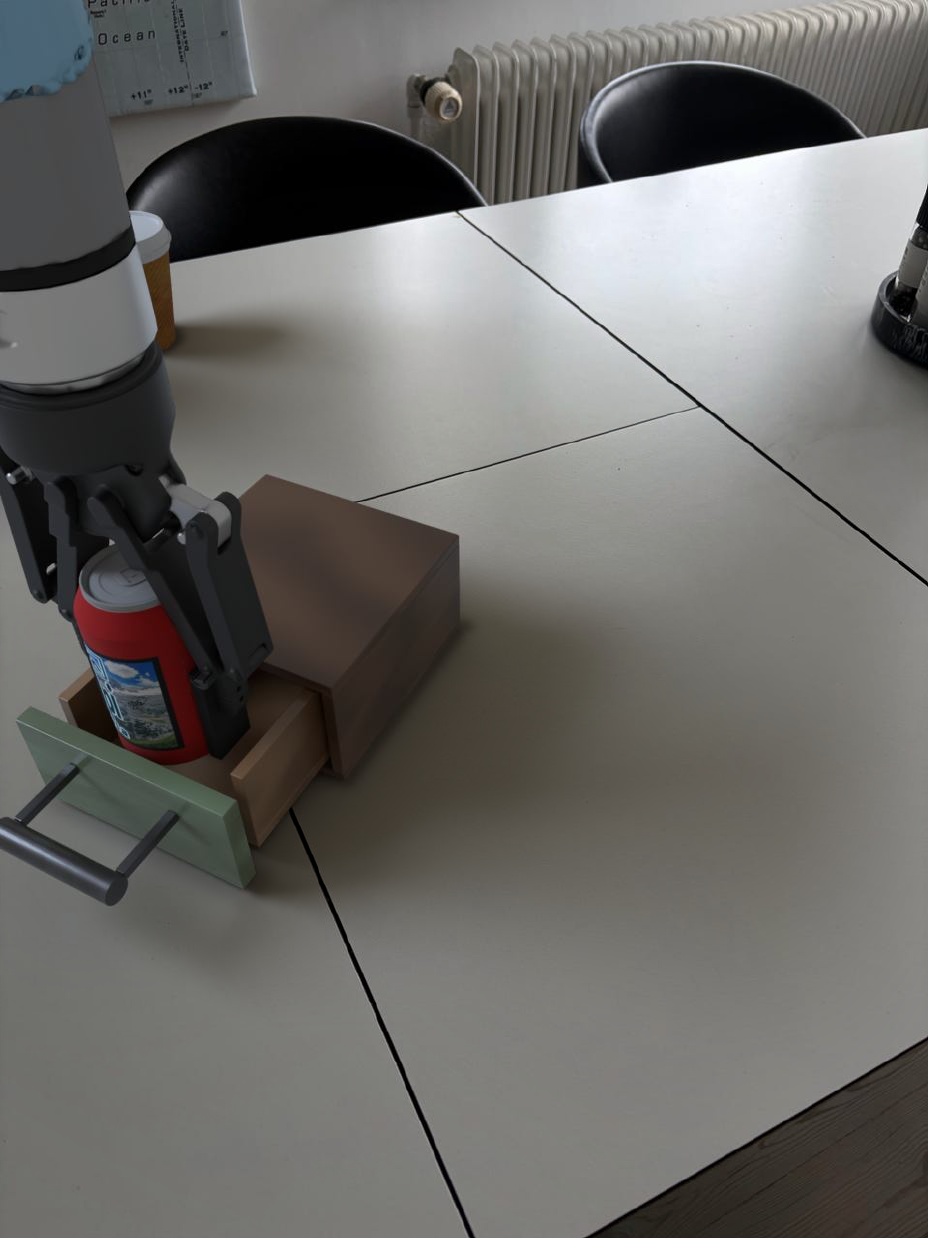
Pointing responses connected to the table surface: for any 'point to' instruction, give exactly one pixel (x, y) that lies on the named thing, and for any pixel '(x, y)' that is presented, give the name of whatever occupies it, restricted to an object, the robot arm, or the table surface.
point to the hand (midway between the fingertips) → (177, 718)
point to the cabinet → (349, 603)
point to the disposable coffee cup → (156, 271)
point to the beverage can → (138, 661)
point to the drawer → (168, 786)
